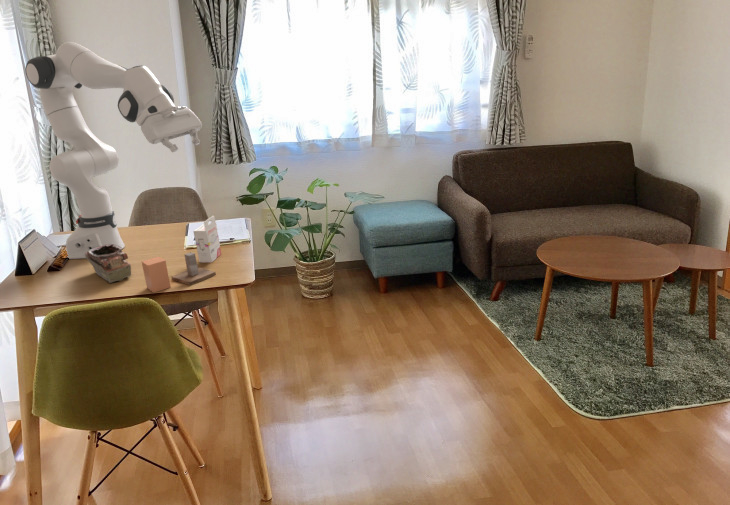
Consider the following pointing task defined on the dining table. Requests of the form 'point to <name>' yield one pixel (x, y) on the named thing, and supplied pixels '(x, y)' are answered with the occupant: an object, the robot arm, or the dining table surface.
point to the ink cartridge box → (207, 241)
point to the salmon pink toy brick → (156, 274)
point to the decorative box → (109, 262)
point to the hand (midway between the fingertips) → (186, 147)
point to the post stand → (192, 271)
